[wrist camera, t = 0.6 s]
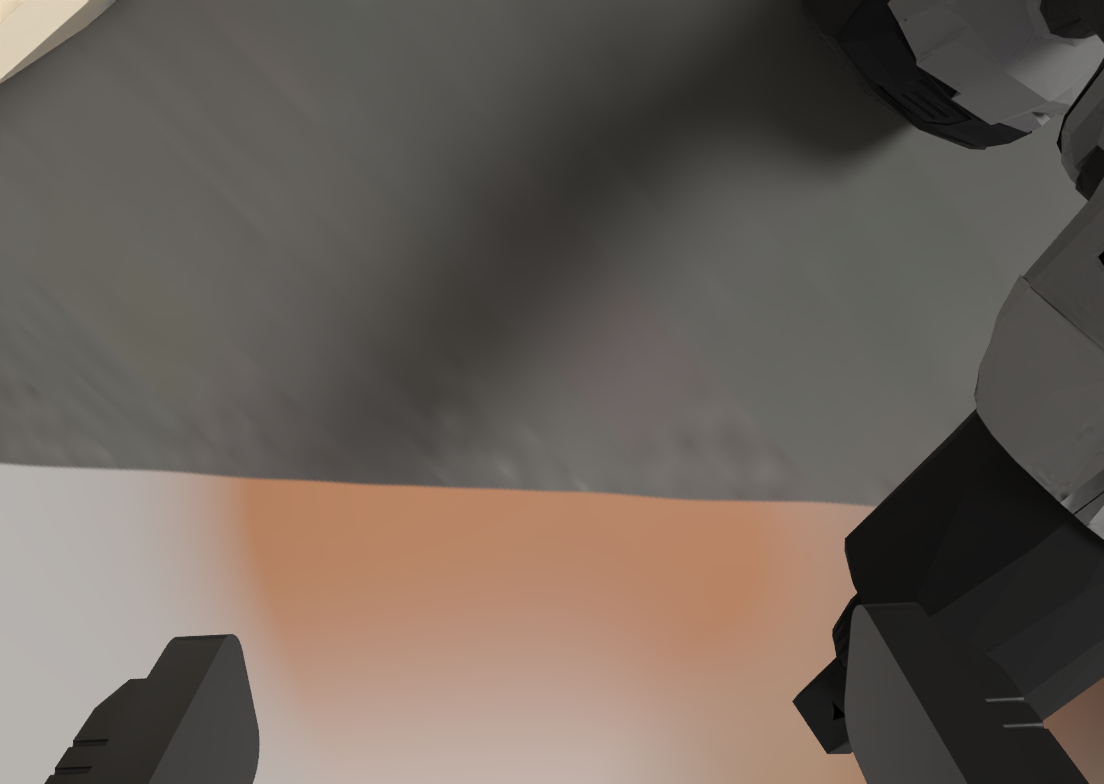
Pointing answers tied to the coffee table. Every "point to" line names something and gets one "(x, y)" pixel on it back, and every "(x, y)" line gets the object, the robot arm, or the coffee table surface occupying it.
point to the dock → (40, 28)
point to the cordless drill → (997, 361)
